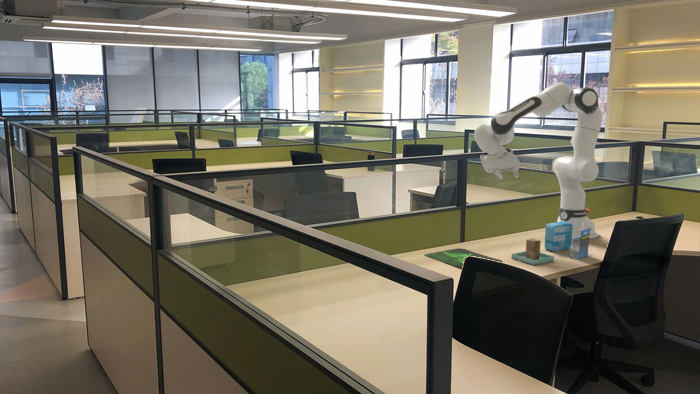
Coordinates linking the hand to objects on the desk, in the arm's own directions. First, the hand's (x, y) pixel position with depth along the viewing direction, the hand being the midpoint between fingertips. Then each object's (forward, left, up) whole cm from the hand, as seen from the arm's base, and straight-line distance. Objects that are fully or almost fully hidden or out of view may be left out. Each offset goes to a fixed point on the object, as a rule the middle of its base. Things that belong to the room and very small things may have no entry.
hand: (509, 177), depth 260 cm
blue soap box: (-13, +18, -32) cm, 39 cm away
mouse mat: (+34, +7, -32) cm, 47 cm away
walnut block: (+10, +24, -31) cm, 40 cm away
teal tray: (+10, +24, -31) cm, 41 cm away
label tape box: (-11, +31, -32) cm, 46 cm away
